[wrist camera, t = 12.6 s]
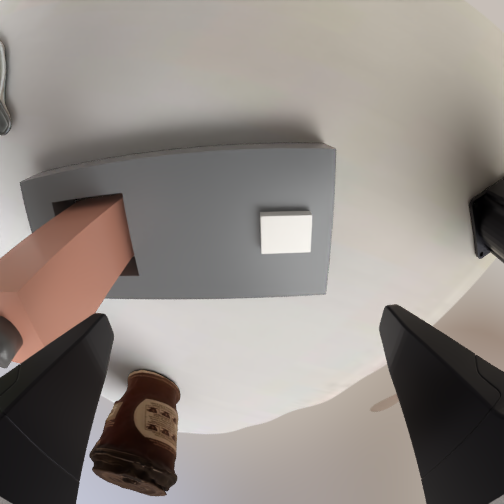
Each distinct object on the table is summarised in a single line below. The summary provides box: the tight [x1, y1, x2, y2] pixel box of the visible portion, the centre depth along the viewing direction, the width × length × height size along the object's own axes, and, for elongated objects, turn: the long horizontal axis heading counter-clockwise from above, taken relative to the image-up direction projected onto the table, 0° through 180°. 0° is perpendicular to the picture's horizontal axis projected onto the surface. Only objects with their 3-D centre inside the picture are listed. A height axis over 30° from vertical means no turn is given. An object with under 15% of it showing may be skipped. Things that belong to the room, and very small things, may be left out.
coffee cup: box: [90, 370, 180, 496], centre depth 24 cm, size 9×8×13 cm
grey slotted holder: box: [20, 143, 336, 299], centre depth 19 cm, size 22×10×4 cm, turn 92°
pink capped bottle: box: [0, 193, 134, 368], centre depth 14 cm, size 4×4×14 cm
